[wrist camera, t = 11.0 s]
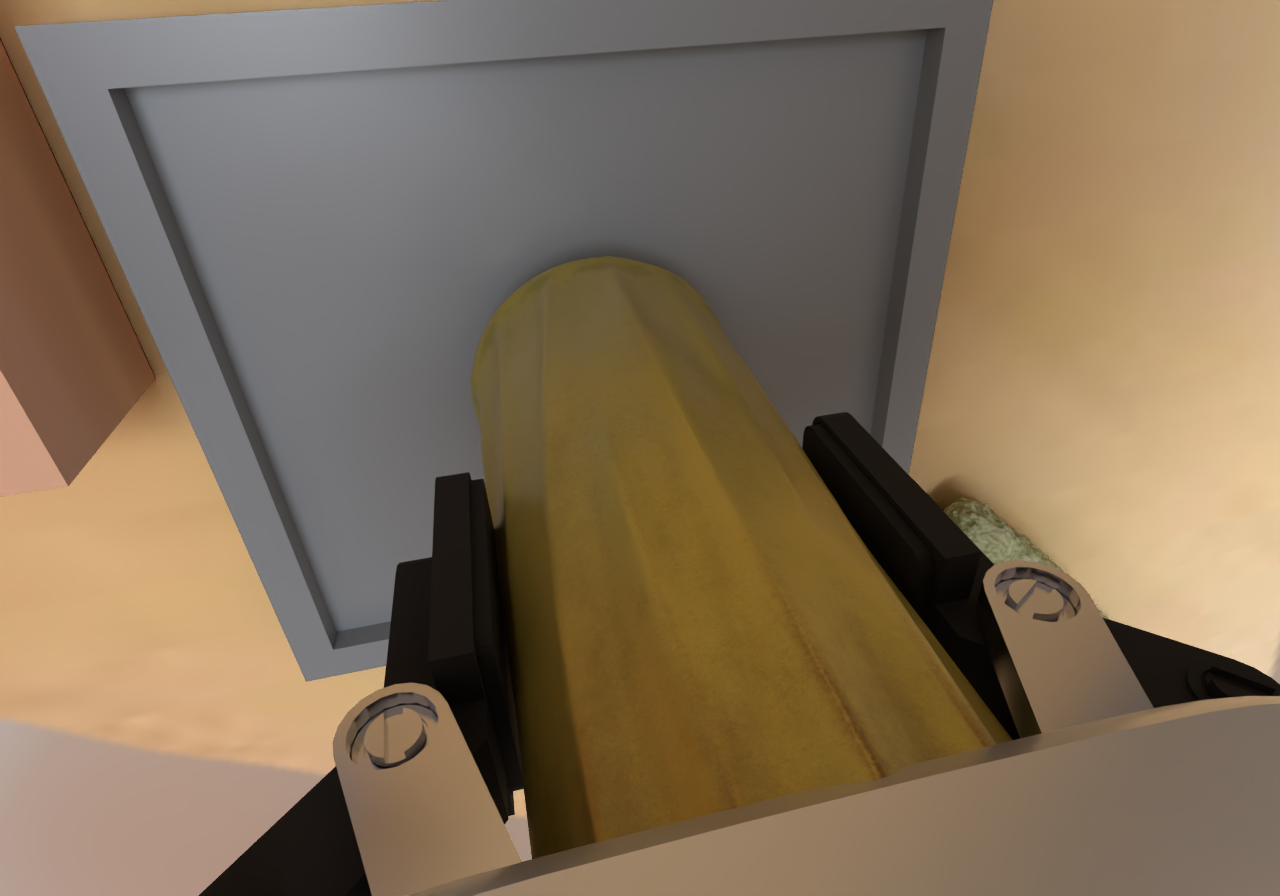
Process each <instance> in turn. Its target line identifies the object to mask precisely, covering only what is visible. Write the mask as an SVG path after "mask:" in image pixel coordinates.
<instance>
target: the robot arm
mask: <svg viewBox="0 0 1280 896" xmlns="http://www.w3.org/2000/svg"><path fill="white" fill-rule="evenodd" d="M802 449H803V450H804V452H805V454H806V455H807V457H808V458H809V460H810V461H811V463H812V465H813V466H814V468H815V469H816V471H817V472H818V474H819V475H820V477H821V479H822V480H823V482H824V483H825V485H826V486H827V488H828V489H829V491H830V492H831V494H832V495H833V497H834V498H835V500H836V501H837V503H838V505H839V506H840V508H841V509H842V511H843V513H844V514H845V516H846V517H847V519H848V520H849V522H850V523H851V525H852V526H853V528H854V529H855V531H856V532H857V534H858V535H859V536H860V538H861V539H862V541H863V542H864V543H865V545H866V546H867V548H868V549H869V550H870V552H871V553H872V554H873V556H874V557H875V559H876V560H877V561H878V563H879V564H880V565H881V567H882V568H883V569H884V571H885V572H886V573H887V575H888V576H889V577H890V579H891V580H892V581H893V582H894V584H895V585H896V586H897V588H898V589H899V590H900V592H901V593H902V594H903V596H904V597H905V598H906V600H907V601H908V602H909V604H910V605H911V606H912V607H913V609H914V610H915V611H916V613H917V614H918V615H919V617H920V618H921V619H922V620H923V622H924V623H925V624H926V626H927V627H928V628H929V630H930V631H931V632H932V634H933V635H934V636H935V638H936V639H937V640H938V642H939V643H940V644H941V646H942V647H943V648H944V650H945V651H946V652H947V654H948V655H949V656H950V658H951V659H952V660H953V662H954V663H955V664H956V666H957V667H958V668H959V670H960V671H961V672H962V674H963V675H964V676H965V678H966V679H967V680H968V682H969V683H970V684H971V686H972V687H973V688H974V690H975V691H976V692H977V694H978V695H979V696H980V698H981V699H982V700H983V701H984V703H985V704H986V705H987V707H988V708H989V709H990V711H991V712H992V713H993V715H994V716H995V717H996V719H997V720H998V721H999V722H1000V724H1001V725H1002V726H1003V728H1004V729H1005V730H1006V732H1007V733H1008V734H1009V735H1010V737H1011V738H1012V739H1013V740H1012V741H1008V742H1004V743H1000V744H996V745H991V746H987V747H983V748H979V749H975V750H970V751H966V752H962V753H958V754H954V755H950V756H945V757H941V758H937V759H933V760H929V761H924V762H920V763H916V764H912V765H908V766H905V767H903V768H901V769H899V770H898V771H896V772H895V773H893V774H891V775H890V776H888V777H885V778H881V779H877V780H873V781H866V782H858V783H851V784H843V785H837V786H831V787H825V788H819V789H813V790H807V791H802V792H798V793H793V794H789V795H785V796H781V797H777V798H773V799H769V800H765V801H762V802H758V803H755V804H751V805H748V806H743V807H739V808H735V809H730V810H725V811H721V812H717V813H713V814H709V815H705V816H701V817H697V818H693V819H689V820H685V821H681V822H677V823H673V824H669V825H665V826H661V827H657V828H653V829H649V830H645V831H641V832H637V833H633V834H629V835H625V836H621V837H617V838H613V839H609V840H605V841H601V842H597V843H593V844H589V845H585V846H581V847H577V848H573V849H569V850H565V851H561V852H558V853H554V854H550V855H547V856H543V857H539V858H535V859H532V860H528V861H524V862H522V861H521V859H520V857H519V855H518V853H517V851H516V848H515V847H514V844H513V842H512V840H511V838H510V836H509V834H508V831H507V829H506V827H505V825H504V824H505V823H506V822H507V820H508V816H510V815H515V813H514V799H513V791H516V790H520V789H524V785H523V775H522V766H521V756H520V746H519V736H518V729H517V721H516V713H515V706H514V698H513V690H512V682H511V674H510V667H509V660H508V652H507V645H506V638H505V631H504V624H503V615H502V604H501V594H500V584H499V574H498V564H497V554H496V544H495V534H494V526H493V522H492V517H491V512H490V507H489V502H488V497H487V492H486V487H485V483H484V479H477V480H471V476H470V473H469V472H466V473H460V474H454V475H448V476H441V477H436V479H435V497H434V522H433V547H432V557H429V558H423V559H418V560H412V561H406V562H401V563H399V564H398V565H397V569H396V575H395V585H394V595H393V604H392V614H391V624H390V634H389V643H388V653H387V663H386V673H385V682H384V688H382V689H379V690H377V691H375V692H374V693H372V694H370V695H368V696H367V697H365V698H363V699H362V700H361V701H359V702H358V703H357V704H356V705H355V706H354V707H353V708H352V709H351V710H350V711H349V712H348V713H347V714H346V716H345V717H344V719H343V720H342V721H341V723H340V724H339V726H338V728H337V731H336V734H335V737H334V740H333V756H334V761H335V764H336V767H335V768H334V769H333V770H332V771H330V772H329V773H328V774H327V775H326V776H325V777H324V778H323V779H322V780H321V781H320V782H319V783H318V784H317V785H316V786H315V787H313V788H312V789H311V790H310V791H309V792H308V793H307V794H306V795H305V796H304V797H303V798H302V799H301V800H300V801H299V802H298V803H297V804H295V805H294V806H293V807H292V808H291V809H290V810H289V811H288V812H287V813H286V814H285V815H284V816H283V817H282V818H281V819H280V820H278V821H277V822H276V823H275V824H274V825H273V826H272V827H271V828H270V829H269V830H268V831H267V832H266V833H265V834H264V835H263V836H261V837H260V838H259V839H258V840H257V841H256V842H255V843H254V844H253V845H252V846H251V847H250V848H249V849H248V850H247V851H246V852H244V854H242V855H241V856H240V857H239V858H238V859H237V860H236V861H235V862H234V863H233V864H232V865H231V866H230V867H229V868H227V869H226V870H225V871H224V872H223V873H222V874H221V875H220V876H219V877H218V878H217V879H216V880H215V881H214V882H213V883H212V884H210V886H208V887H207V888H206V889H205V890H204V891H203V892H202V893H201V894H200V895H199V896H1280V684H1278V683H1277V682H1276V681H1275V680H1273V679H1272V678H1271V677H1269V676H1267V675H1265V674H1264V673H1262V672H1260V671H1259V670H1257V669H1255V668H1253V667H1251V666H1249V665H1246V664H1244V663H1241V662H1239V661H1236V660H1234V659H1231V658H1227V657H1224V656H1221V655H1218V654H1215V653H1212V652H1209V651H1206V650H1203V649H1199V648H1196V647H1193V646H1190V645H1187V644H1184V643H1181V642H1178V641H1174V640H1171V639H1168V638H1165V637H1162V636H1159V635H1156V634H1153V633H1149V632H1146V631H1143V630H1140V629H1137V628H1134V627H1131V626H1128V625H1124V624H1121V623H1118V622H1115V621H1112V620H1109V619H1106V618H1103V617H1102V616H1101V614H1100V613H1099V611H1098V609H1097V607H1096V606H1095V604H1094V602H1093V600H1092V599H1091V597H1090V595H1089V594H1088V593H1087V591H1086V590H1085V589H1084V588H1083V586H1082V585H1081V584H1080V583H1078V582H1077V581H1076V580H1074V579H1073V578H1072V577H1071V576H1069V575H1068V574H1066V573H1064V572H1062V571H1060V570H1058V569H1056V568H1054V567H1051V566H1048V565H1044V564H1041V563H1038V562H1032V561H1024V560H1014V561H1005V562H1002V563H999V564H996V565H994V564H993V563H992V562H991V560H990V559H989V558H988V557H987V556H986V555H985V554H984V553H983V552H982V551H981V550H980V549H979V548H978V547H977V546H976V545H975V544H974V543H973V542H972V541H971V540H970V538H969V537H968V536H967V535H966V534H965V533H964V532H963V531H962V530H961V529H960V528H959V527H958V526H957V525H956V524H955V523H954V522H953V521H952V520H951V519H950V518H949V516H948V515H947V514H946V513H945V512H944V511H943V510H942V509H941V508H940V507H939V506H938V505H937V504H936V503H935V502H934V501H933V500H932V499H931V498H930V497H929V496H928V494H927V493H926V492H925V491H924V490H923V489H922V488H921V487H920V486H919V485H918V484H917V483H916V482H915V481H914V480H913V479H912V478H911V477H910V476H909V475H908V474H907V473H906V472H905V471H904V470H903V469H902V467H901V466H900V465H899V464H898V463H897V462H896V461H895V460H894V459H893V458H892V457H891V456H890V455H889V454H888V453H887V452H886V451H885V450H884V449H883V448H882V447H881V445H880V444H879V443H878V442H877V441H876V440H875V439H874V438H873V437H872V436H871V435H870V434H869V433H868V432H867V431H866V430H865V429H864V428H863V427H862V426H861V425H860V423H859V422H858V421H857V420H856V419H855V418H854V417H853V416H852V415H851V414H849V413H848V412H842V413H835V414H829V415H823V416H817V417H816V418H814V420H813V422H812V425H810V426H807V427H805V430H804V434H803V445H802Z"/></svg>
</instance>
